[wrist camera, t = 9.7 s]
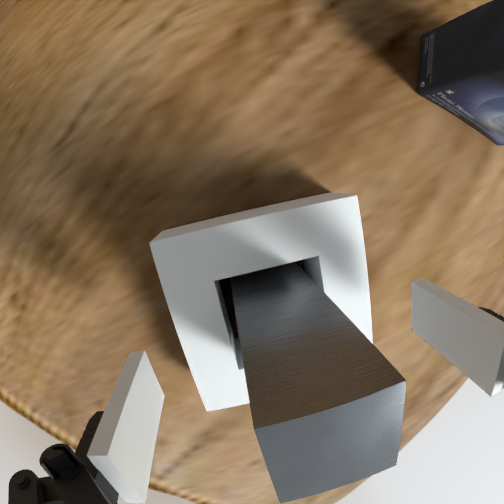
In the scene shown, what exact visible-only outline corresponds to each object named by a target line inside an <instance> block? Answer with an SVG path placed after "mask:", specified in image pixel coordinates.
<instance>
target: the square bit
mask: <svg viewBox="0 0 504 504" xmlns="http://www.w3.org/2000/svg"><path fill="white" fill-rule="evenodd" d="M230 280H231V287H232V294H233V301H234V307H235V314H236V321H237V327H238V334H239V340H240V347H241V353H242V359H243V366H244V372H245V378H246V384H247V390H248V396H249V402H250V408H251V414H252V420H253V425H254V430H255V433H256V436H257V439H258V442H259V445H260V448H261V451H262V454H263V457H264V460H265V462H266V465H267V468H268V471H269V474H270V477H271V479H272V482H273V485H274V488H275V490H276V493H277V496H278V499H279V501H280V503H284V502H288V501H292V500H296V499H300V498H304V497H308V496H311V495H315V494H318V493H322V492H325V491H328V490H332V489H335V488H338V487H341V486H344V485H347V484H350V483H353V482H355V481H358V480H361V479H364V478H366V477H369V476H371V475H374V474H376V473H378V472H381V471H384V470H386V469H388V468H391V467H393V466H395V465H396V462H397V456H398V450H399V443H400V436H401V428H402V420H403V411H404V400H405V388H406V380H405V379H404V378H403V376H402V375H401V374H400V373H399V372H398V371H397V370H396V369H395V368H394V367H393V366H392V364H391V363H390V362H389V361H388V360H387V359H386V358H385V357H384V356H383V355H382V354H381V352H380V351H379V350H378V349H377V348H376V347H375V346H374V345H373V344H372V343H371V342H370V341H369V339H368V338H367V337H366V336H365V335H364V334H363V333H362V332H361V331H360V330H359V329H358V328H357V327H356V326H355V324H354V323H353V322H352V321H351V320H350V319H349V318H348V317H347V316H346V315H345V314H344V313H343V312H342V311H341V310H340V308H339V307H338V306H337V305H336V304H335V303H334V302H333V301H332V300H331V299H330V298H329V297H328V296H327V295H326V294H325V293H324V292H323V291H322V290H321V288H320V287H319V286H318V285H317V284H316V283H315V282H314V281H313V280H312V279H311V278H310V277H309V276H308V275H307V274H306V273H305V272H304V271H303V270H302V269H301V268H300V267H299V266H298V264H297V263H296V262H291V263H287V264H283V265H279V266H275V267H271V268H266V269H262V270H258V271H254V272H250V273H246V274H241V275H237V276H233V277H230Z"/></svg>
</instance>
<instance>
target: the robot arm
mask: <svg viewBox="0 0 504 504" xmlns="http://www.w3.org/2000/svg"><path fill="white" fill-rule="evenodd" d="M411 307H412V330H413V331H414V332H415V333H416V334H417V335H419V336H420V337H421V338H422V339H424V340H425V341H426V342H427V343H428V344H430V345H431V346H432V347H433V348H434V349H436V350H437V351H438V352H439V353H440V354H442V355H443V356H444V357H445V358H446V359H448V360H449V361H450V362H451V363H452V364H454V365H455V366H456V367H457V368H458V369H459V370H461V371H462V372H463V373H464V374H465V375H466V376H468V377H469V378H470V379H471V380H472V381H473V382H475V383H476V384H477V385H478V386H479V387H480V388H482V389H483V390H484V391H485V392H486V393H487V394H488V395H490V396H491V397H492V396H493V395H495V394H496V393H497V392H499V391H500V390H502V389H503V388H504V317H502V316H501V315H498V314H497V313H495V312H493V311H492V310H490V309H486V308H482V307H476V306H475V305H473V304H471V303H469V302H467V301H466V300H464V299H462V298H460V297H458V296H456V295H454V294H453V293H451V292H449V291H447V290H445V289H443V288H441V287H439V286H438V285H436V284H434V283H432V282H430V281H428V280H426V279H424V278H420V279H418V280H415V281H412V282H411ZM163 401H164V394H163V391H162V389H161V387H160V385H159V383H158V380H157V378H156V376H155V374H154V371H153V369H152V367H151V364H150V362H149V359H148V357H147V355H146V352H145V350H142V351H136V352H130V354H129V356H128V358H127V360H126V362H125V365H124V367H123V369H122V371H121V373H120V376H119V378H118V380H117V383H116V385H115V387H114V389H113V392H112V394H111V396H110V399H109V401H108V403H107V406H106V408H105V411H98V412H96V413H95V414H94V415H93V416H92V417H91V419H90V420H89V422H88V424H87V426H86V428H85V429H86V430H85V431H84V433H83V435H82V436H83V437H82V438H81V440H80V442H79V445H78V447H77V449H76V452H75V453H74V452H73V450H72V449H71V448H70V447H69V446H68V445H66V444H55V445H52V446H50V447H49V448H47V449H46V450H45V451H44V452H43V453H42V454H41V457H40V465H41V466H42V467H43V469H44V470H45V471H46V472H47V473H48V475H49V477H43V478H38V477H37V476H36V475H35V474H34V473H33V472H32V471H31V470H27V469H26V470H21V471H18V472H17V473H15V474H14V475H13V476H12V478H11V479H10V482H9V501H8V502H9V503H8V504H118V503H117V500H118V495H120V496H121V498H122V499H123V500H124V501H125V502H126V503H146V497H147V491H148V484H149V478H150V472H151V466H152V460H153V454H154V448H155V443H156V437H157V432H158V426H159V421H160V416H161V411H162V406H163Z"/></svg>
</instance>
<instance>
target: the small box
mask: <svg viewBox="0 0 504 504" xmlns="http://www.w3.org/2000/svg"><path fill="white" fill-rule="evenodd" d="M418 93H419V94H420V95H422V96H423V97H425V98H427V99H429V100H430V101H432V102H434V103H436V104H437V105H439V106H441V107H442V108H444V109H446V110H447V111H449V112H451V113H452V114H454V115H455V116H457V117H458V118H460V119H462V120H463V121H464V122H466V123H468V124H469V125H470V126H472V127H473V128H475V129H476V130H478V131H479V132H481V133H482V134H483V135H485V136H486V137H487V138H489V139H490V140H492V141H493V142H494V143H496V144H497V145H504V0H493V1H490V2H488V3H486V4H484V5H481V6H479V7H477V8H475V9H473V10H471V11H469V12H467V13H465V14H463V15H461V16H459V17H457V18H455V19H453V20H451V21H449V22H447V23H445V24H444V25H441V26H440V27H438V28H436V29H434V30H432V31H430V32H427V33H425V34H423V37H422V55H421V64H420V72H419V81H418Z"/></svg>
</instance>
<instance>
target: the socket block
mask: <svg viewBox="0 0 504 504" xmlns="http://www.w3.org/2000/svg"><path fill="white" fill-rule="evenodd" d="M149 244H150V248H151V251H152V255H153V258H154V262H155V265H156V269H157V272H158V275H159V279H160V282H161V285H162V288H163V292H164V295H165V298H166V301H167V304H168V307H169V310H170V313H171V316H172V319H173V322H174V325H175V328H176V331H177V334H178V337H179V340H180V343H181V346H182V348H183V351H184V354H185V357H186V359H187V362H188V365H189V367H190V370H191V373H192V375H193V378H194V380H195V383H196V386H197V388H198V391H199V393H200V396H201V398H202V401H203V403H204V406H205V408H206V410H207V411H213V410H218V409H223V408H229V407H234V406H238V405H243V404H248V403H250V402H249V396H248V390H247V384H246V378H245V372H244V366H243V359H242V353H241V347H240V340H239V338H234V334H233V331H232V327H231V323H230V320H229V316H228V312H227V309H226V305H225V301H224V297H223V294H222V290H221V286H220V282H219V280H220V279H225V278H229V277H233V276H237V275H241V274H246V273H250V272H254V271H258V270H262V269H266V268H271V267H275V266H279V265H283V264H287V263H291V262H295V261H299V260H303V262H304V268H305V273H306V274H307V275H308V276H309V277H310V278H311V279H312V280H313V281H314V282H315V283H316V284H317V285H318V286H319V287H320V288H321V290H322V291H323V292H324V293H325V294H326V295H327V296H328V297H329V298H330V299H331V300H332V301H333V302H334V303H335V304H336V305H337V306H338V307H339V308H340V310H341V311H342V312H343V313H344V314H345V315H346V316H347V317H348V318H349V319H350V320H351V321H352V322H353V323H354V324H355V326H356V327H357V328H358V329H359V330H360V331H361V332H362V333H363V334H364V335H365V336H366V337H367V338H368V339H369V341H370V342H371V343H372V344H373V341H372V322H371V307H370V295H369V283H368V273H367V264H366V255H365V247H364V239H363V231H362V224H361V217H360V211H359V204H358V198H357V195H351V194H342V193H334V192H330V193H325V194H320V195H315V196H311V197H306V198H301V199H296V200H291V201H287V202H282V203H278V204H273V205H268V206H264V207H259V208H255V209H251V210H246V211H242V212H237V213H233V214H229V215H225V216H220V217H216V218H212V219H208V220H204V221H200V222H195V223H191V224H187V225H183V226H179V227H175V228H171V229H167V230H163V231H162V232H160V233H159V234H158V235H157V236H156V237H155V238H154V239H153V240H152V241H151V242H149Z"/></svg>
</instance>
